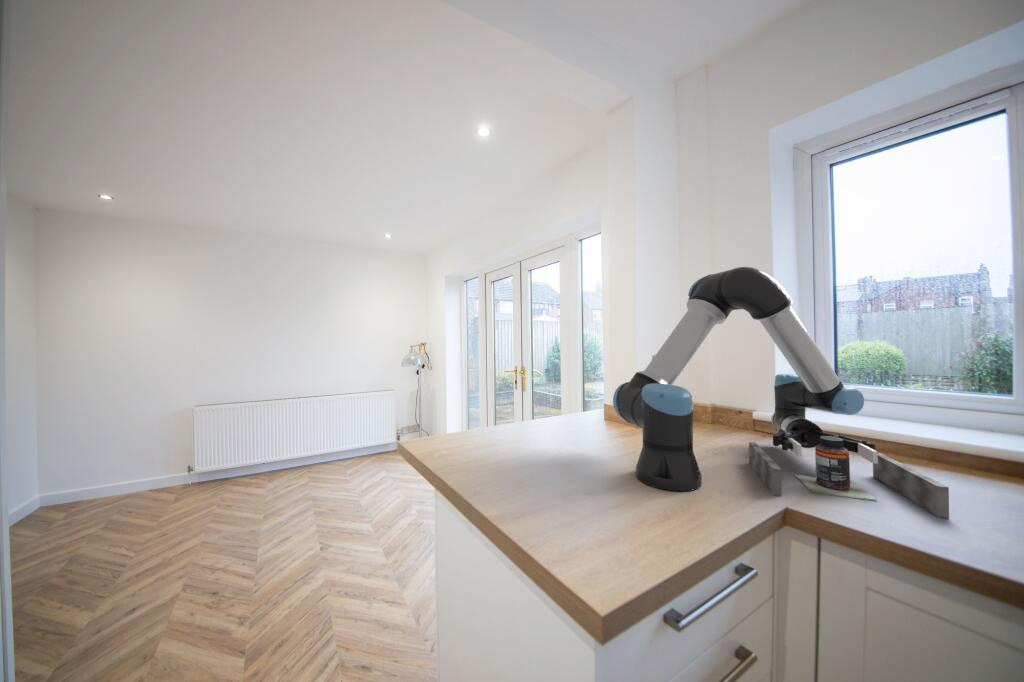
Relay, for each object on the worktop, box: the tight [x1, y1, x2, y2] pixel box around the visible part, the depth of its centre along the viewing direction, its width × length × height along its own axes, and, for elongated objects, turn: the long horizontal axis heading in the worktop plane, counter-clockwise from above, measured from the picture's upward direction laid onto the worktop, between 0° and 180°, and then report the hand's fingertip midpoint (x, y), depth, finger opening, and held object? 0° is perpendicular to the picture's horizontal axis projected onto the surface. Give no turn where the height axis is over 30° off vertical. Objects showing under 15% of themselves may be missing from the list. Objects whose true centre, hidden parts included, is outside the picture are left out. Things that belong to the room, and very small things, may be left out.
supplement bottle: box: [814, 436, 851, 490], centre depth 82 cm, size 6×6×11 cm
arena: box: [748, 441, 950, 519], centre depth 83 cm, size 22×28×6 cm
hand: (836, 454), depth 80 cm, fingers open, 13 cm apart
